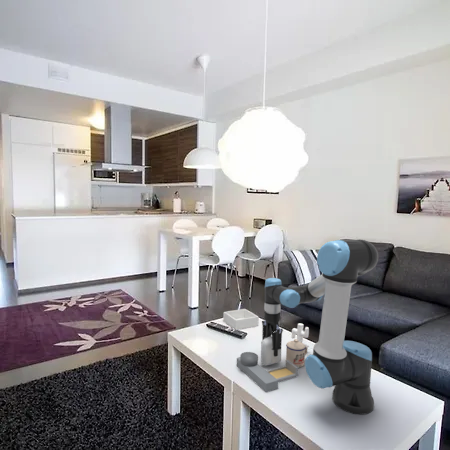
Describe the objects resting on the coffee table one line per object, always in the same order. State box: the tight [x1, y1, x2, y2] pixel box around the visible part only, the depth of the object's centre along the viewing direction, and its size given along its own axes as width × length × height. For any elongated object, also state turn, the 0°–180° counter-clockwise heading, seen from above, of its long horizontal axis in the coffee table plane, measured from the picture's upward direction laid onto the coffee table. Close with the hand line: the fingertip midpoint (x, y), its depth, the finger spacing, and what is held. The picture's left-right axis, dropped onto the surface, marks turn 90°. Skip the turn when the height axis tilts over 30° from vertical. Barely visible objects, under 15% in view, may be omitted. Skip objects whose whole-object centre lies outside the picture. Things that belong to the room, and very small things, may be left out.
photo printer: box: [260, 335, 282, 366], centre depth 157 cm, size 10×4×12 cm, turn 119°
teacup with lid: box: [285, 338, 308, 368], centre depth 160 cm, size 12×9×12 cm
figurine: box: [291, 323, 310, 350], centre depth 170 cm, size 7×9×15 cm
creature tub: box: [222, 308, 260, 331], centre depth 207 cm, size 16×16×6 cm
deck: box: [236, 351, 299, 393], centre depth 150 cm, size 24×21×7 cm
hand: (271, 359), depth 157 cm, fingers closed on photo printer, 4 cm apart
